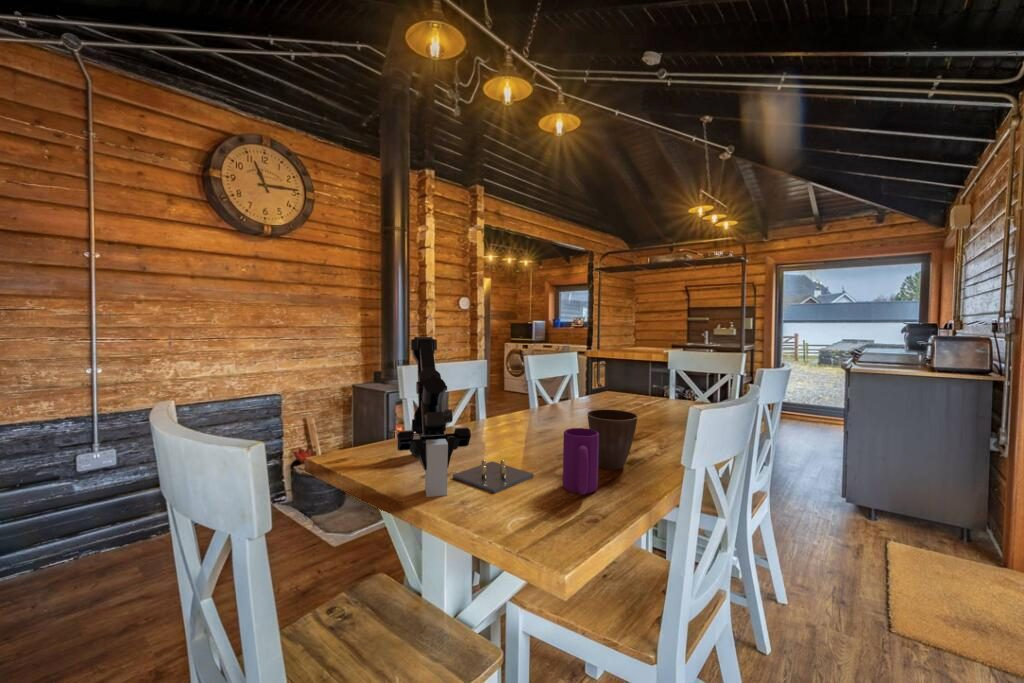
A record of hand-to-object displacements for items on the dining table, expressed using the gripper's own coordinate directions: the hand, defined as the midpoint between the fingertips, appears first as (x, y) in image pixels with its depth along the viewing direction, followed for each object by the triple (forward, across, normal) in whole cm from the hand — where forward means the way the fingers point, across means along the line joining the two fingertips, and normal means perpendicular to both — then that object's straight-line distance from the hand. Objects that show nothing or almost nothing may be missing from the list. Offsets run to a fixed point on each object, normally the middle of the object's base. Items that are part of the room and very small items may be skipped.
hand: (436, 468), depth 109 cm
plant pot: (-2, +54, +11) cm, 55 cm away
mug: (+10, +36, -1) cm, 38 cm away
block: (+4, 0, +6) cm, 7 cm away
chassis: (-1, +17, +10) cm, 20 cm away
